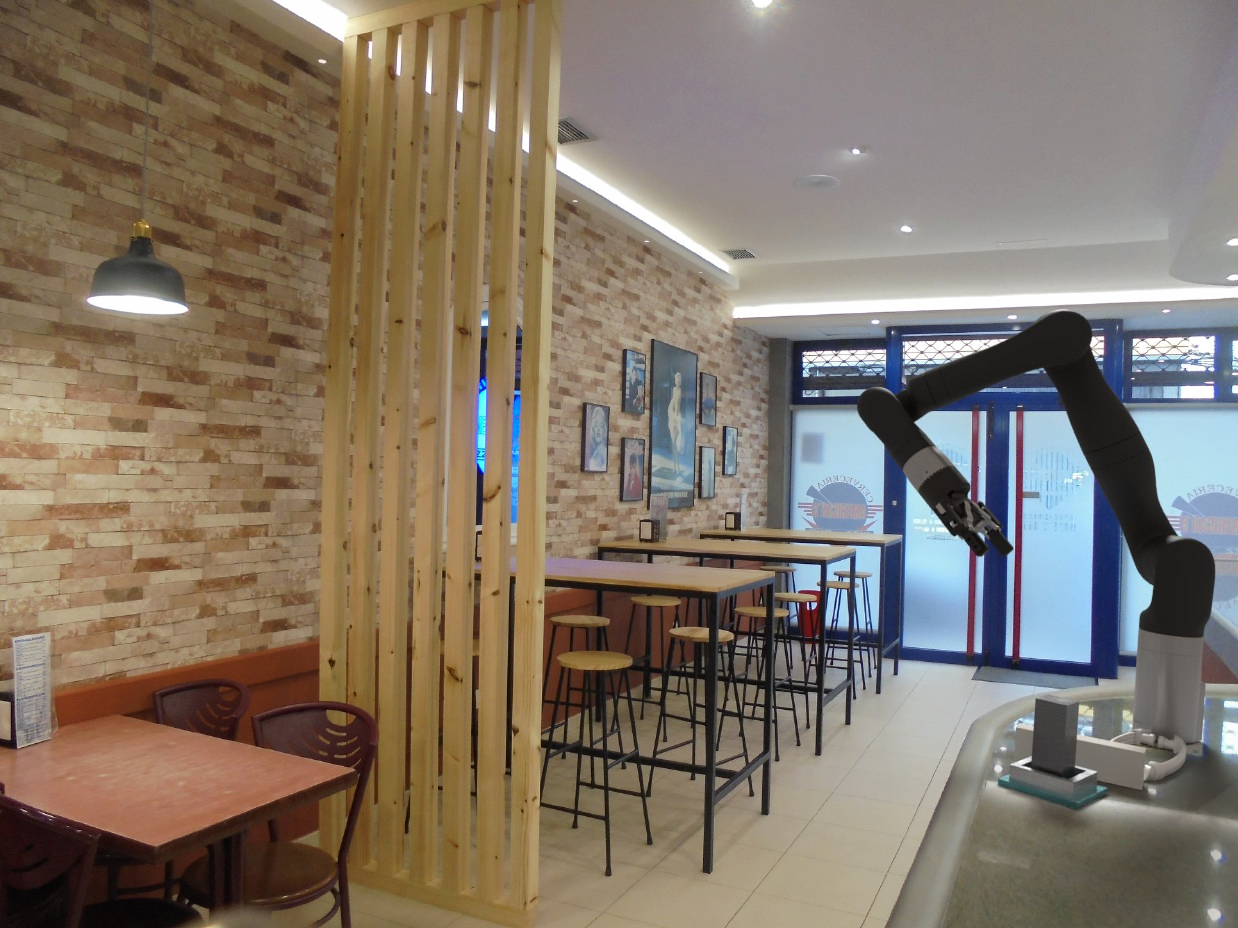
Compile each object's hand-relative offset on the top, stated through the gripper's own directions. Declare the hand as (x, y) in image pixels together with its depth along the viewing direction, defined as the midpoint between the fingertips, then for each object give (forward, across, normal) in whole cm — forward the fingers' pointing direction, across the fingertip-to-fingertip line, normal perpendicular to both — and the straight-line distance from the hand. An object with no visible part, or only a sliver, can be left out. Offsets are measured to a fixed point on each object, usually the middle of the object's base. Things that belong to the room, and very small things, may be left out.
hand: (997, 553), depth 145 cm
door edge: (+33, -9, +8) cm, 35 cm away
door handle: (+36, +8, +6) cm, 37 cm away
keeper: (+33, -20, +7) cm, 39 cm away
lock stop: (+33, -20, +7) cm, 39 cm away
